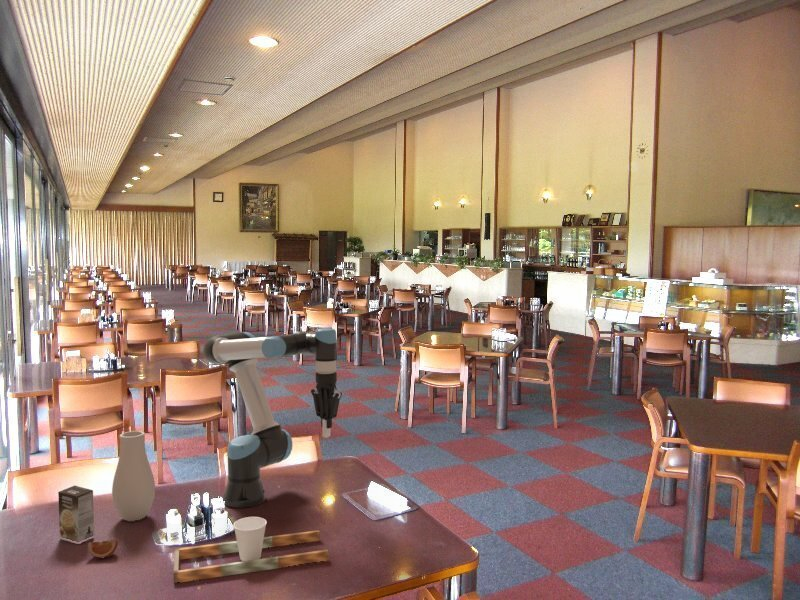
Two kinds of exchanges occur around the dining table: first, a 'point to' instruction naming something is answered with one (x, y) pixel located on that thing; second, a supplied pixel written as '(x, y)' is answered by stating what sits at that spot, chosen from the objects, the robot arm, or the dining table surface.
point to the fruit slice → (102, 548)
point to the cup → (250, 537)
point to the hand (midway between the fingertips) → (326, 436)
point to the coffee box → (76, 513)
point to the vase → (133, 478)
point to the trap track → (246, 565)
